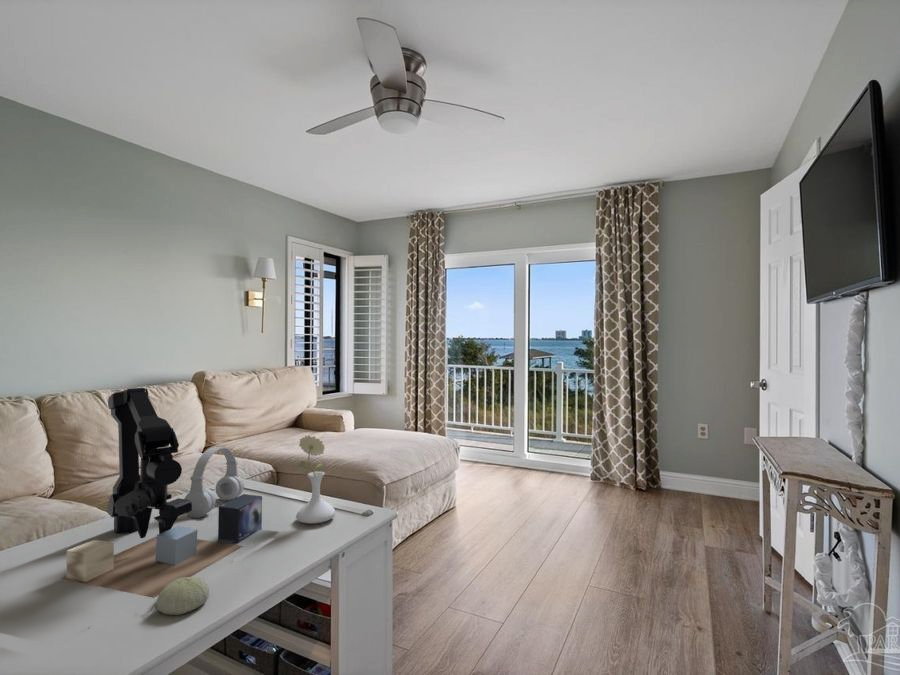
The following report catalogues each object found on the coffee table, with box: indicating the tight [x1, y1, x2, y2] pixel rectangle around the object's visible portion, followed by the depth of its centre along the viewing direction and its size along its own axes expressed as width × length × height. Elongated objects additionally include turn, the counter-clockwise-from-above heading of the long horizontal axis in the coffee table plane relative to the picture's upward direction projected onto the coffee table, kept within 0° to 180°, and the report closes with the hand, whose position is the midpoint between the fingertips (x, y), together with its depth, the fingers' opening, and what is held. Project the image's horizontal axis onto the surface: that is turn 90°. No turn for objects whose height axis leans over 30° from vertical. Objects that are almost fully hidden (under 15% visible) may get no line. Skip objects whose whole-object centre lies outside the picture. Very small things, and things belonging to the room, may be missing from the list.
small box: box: [217, 493, 263, 544], centre depth 124 cm, size 11×6×10 cm, turn 168°
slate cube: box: [155, 525, 198, 565], centre depth 111 cm, size 6×6×6 cm
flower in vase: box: [295, 435, 336, 525], centre depth 138 cm, size 13×11×25 cm
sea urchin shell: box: [155, 576, 210, 616], centre depth 93 cm, size 9×8×8 cm
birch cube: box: [65, 539, 115, 582], centre depth 103 cm, size 6×6×6 cm
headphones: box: [183, 446, 245, 519], centre depth 149 cm, size 20×8×19 cm, turn 172°
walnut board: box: [60, 535, 244, 599], centre depth 109 cm, size 27×25×1 cm
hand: (152, 539), depth 113 cm, fingers open, 6 cm apart
